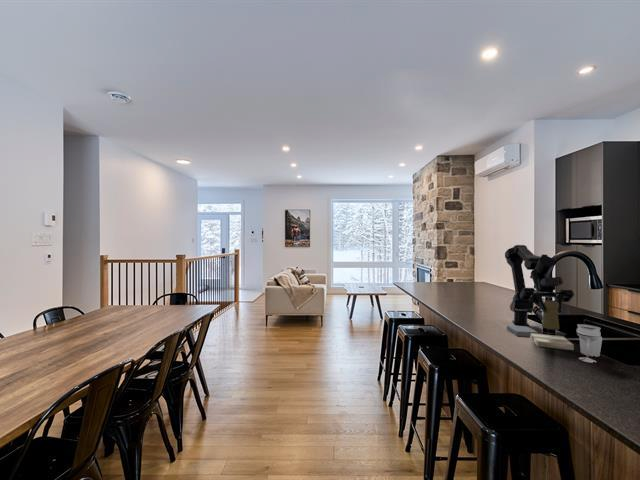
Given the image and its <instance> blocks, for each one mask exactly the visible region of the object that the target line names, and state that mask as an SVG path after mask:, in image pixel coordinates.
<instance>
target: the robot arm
mask: <svg viewBox="0 0 640 480" xmlns="http://www.w3.org/2000/svg"><path fill="white" fill-rule="evenodd" d="M504 258H505V261H506V263H507V265H509V266H510V268H511V273H512V274H511V275H512V280H513V285H514V292H515V293H514V295H513V297H512V301H511V303H510V305H509V310H510V311H511V312H513V319H512V320H511V322H512V323H513V325H514V326H527V327H529V326H530V324H529V323H528V313H530V314H533V312H534V311H533V310H534V305H535V306H537V307H538V308H539V309H540V310H541V311H543V313H544V312H546V308H545V305H544V300H543V298H553V301H556V302H558V303H559V308H558V309H557V312H558V313H559V314H560V313H561V312H562V303H568V302H570V301H571V300H572V299H573V297H574V296H575V293H574V291H573V290H572V289H567V288H565V289H563V288H562V289H560V290H559V292H557V291H556V289H557V288H556V287H558V286H561V285H563V282H564V281H563V278H562V277H561V276H555V277H553V276H552V277H550V276H548V275H550V274H551V271H552V270H553V269H554V267H555V264H556V261H555V260H554V259H553V258H552V257H550V256H548V254H541V255H540V256H539V255H535V254H534V253H533V252H532V251H530V250H529V249H528V247H527V245H525V244H515V245H514V246H512V247H511V248H508V249H507V250H506V251H505V253H504ZM522 264H524V267H525V269H527V270H528V271H530V276H529V279H532V281H533V287H526V283H525V276H524V271H523V265H522Z"/></svg>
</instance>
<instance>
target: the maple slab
mask: <svg viewBox="0 0 640 480" xmlns="http://www.w3.org/2000/svg"><path fill="white" fill-rule="evenodd" d="M529 338H530V339H531V340H532V342H533V343H534V344H535V345H536V346H537V347H541V348H547V349H548V348H549V349H559V350H567V351H574V350H575V348H574V347H575V344H573V343H572V342H571V341H570V340H568V339H567V338H566V337H565V336H562V335H551V334H543V333H538V334H535V333H530V336H529Z"/></svg>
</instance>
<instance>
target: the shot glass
mask: <svg viewBox="0 0 640 480" xmlns="http://www.w3.org/2000/svg"><path fill="white" fill-rule="evenodd" d="M602 343H603V337H602V336H601V335H600V338H599V339H597V340H596V341H592V342H591V343H589V353H588V357H593V356H595V358H597V357H600V354H601V348H602ZM579 347H580V351H579V352H580V354H582V355H585V356H587V342H585V340H583V339H581V338H580V337H579Z"/></svg>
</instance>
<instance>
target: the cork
mask: <svg viewBox="0 0 640 480" xmlns="http://www.w3.org/2000/svg"><path fill="white" fill-rule="evenodd" d="M543 303H544V305H545V308H546V312H544V311H543V317H542V322H541V328H544V329H548V330H553V331H556V330H557V331H558V330H560V321H559V314H558V311H557V309H558V308H559V303H558V302H556V301H554V300H552V299H551V300H550V299H549V300H548V299H547V300H545V301H543Z"/></svg>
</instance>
